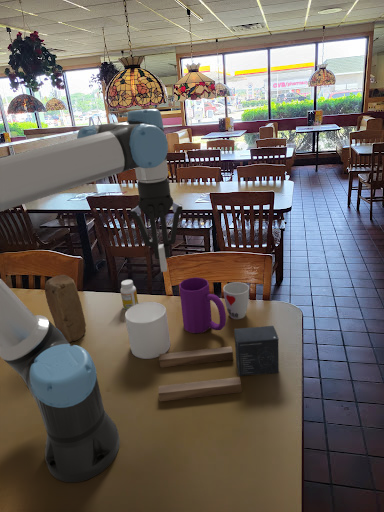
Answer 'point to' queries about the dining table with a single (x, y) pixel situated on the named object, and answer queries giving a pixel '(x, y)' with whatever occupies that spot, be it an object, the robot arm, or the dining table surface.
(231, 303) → the cup
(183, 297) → the mug
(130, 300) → the supplement bottle
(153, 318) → the cup
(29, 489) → the dining table surface
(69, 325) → the block
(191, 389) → the parallel wooden rails
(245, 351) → the box
